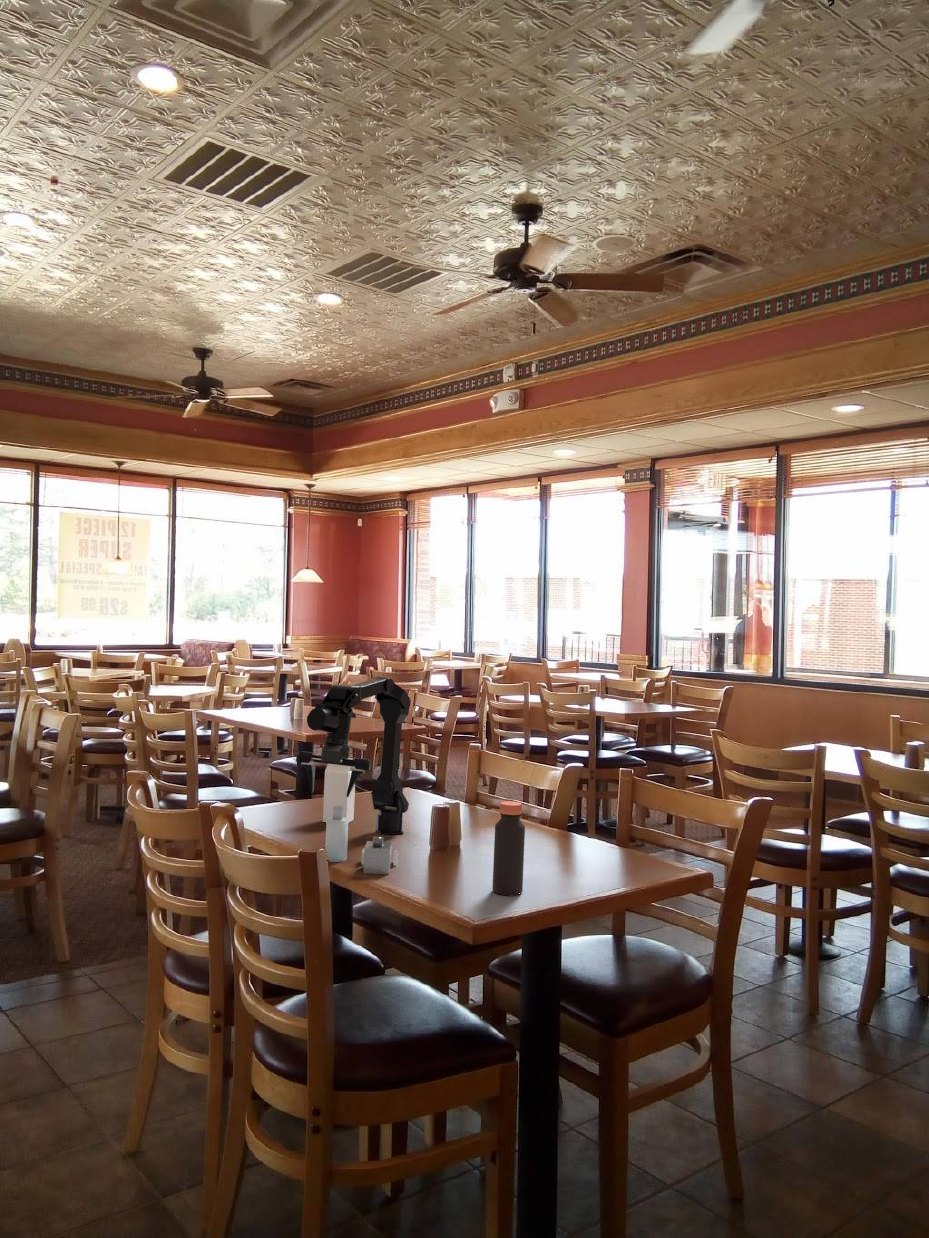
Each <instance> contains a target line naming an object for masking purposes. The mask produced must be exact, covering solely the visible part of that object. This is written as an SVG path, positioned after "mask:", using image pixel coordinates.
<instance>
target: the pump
mask: <svg viewBox="0 0 929 1238" xmlns="http://www.w3.org/2000/svg"><path fill="white" fill-rule="evenodd" d="M342 816H343V807H342V806H334V807H333V817H329V818H327V821H326V823H325V824H326V825H325V827H326V828H325V846H324V847H325V849H324V851H325V850H326V852H327V856H328V860H329V861H328V862H330V863H331V862H332V863H340V862H345V861H347V858H348V837H349V836H348V835H349V823H348V818H345V817H342Z"/></svg>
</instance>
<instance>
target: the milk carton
mask: <svg viewBox="0 0 929 1238" xmlns="http://www.w3.org/2000/svg"><path fill="white" fill-rule="evenodd" d="M348 759H350V760H354V759H353V757H349V758H348ZM341 761H342V760H341ZM341 763H342V762H341ZM352 770H354V767H352V766H343V765H335V764H327V765H326V767H325V771H324V782H323V783H324V784H323V810H322V823H323V822H326V821H327V818H329V817H333V807H334V806H342V807H343V816H342V817H345V818H348V824H349V823H351V822H353V821H354V820H355V819H354V817H355V816H354V815H355V796H356V795H355V793H356V792H355V791H356V784H355V785H354V787H353V789H352V791H351V793H350V795H349V797H347V790H348V786H349V782H350V778H351V772H352Z"/></svg>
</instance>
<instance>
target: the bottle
mask: <svg viewBox="0 0 929 1238" xmlns="http://www.w3.org/2000/svg"><path fill="white" fill-rule="evenodd" d="M522 808H523V804H522V803H521V802H518V801H511V800H510V801H509V800H508V801H505V800H504V801H501V802H500V803H499V816H500V818H499V820H498V821H497V822H496V823H495V825H494V844H493V845H494V846H493V863H492V864H493V868H492V870H493V871H492V888H491V889H492V892H493V893H494V892H495V893H494V894H496V893H497V895H499V894H500V895H499V896H505V895H515V894H519V893H521V892H522V893H523V888H524V887H523V884H524V883H523V882H524V866H525V865H524V863H525V862H524V861H525V859H524V858H525V841H526V840H525V836H526V826H525V824H524V823H523V822H522V821H521V817H522V813H523V812H522ZM522 893H521V894H522ZM519 895H520V894H519ZM515 896H516V895H515Z"/></svg>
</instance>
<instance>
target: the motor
mask: <svg viewBox="0 0 929 1238" xmlns="http://www.w3.org/2000/svg"><path fill="white" fill-rule="evenodd" d="M392 846H393V842H392V841H384V836H382V835H381V836H379V835H375V836H373V839H372V840H367V841H366V843H365V845H364V848H362V851H361V856H360V857H361V861H360V865H361V866H363V874H374V875H376V874H377V875H378V874H379V875H389V874H390V870H391V867H392V866H393V867H397V865H398V855H399V854H398V853H399V851H398V850H399V849H394V850H393V856H392ZM392 857H393V861H392Z"/></svg>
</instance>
